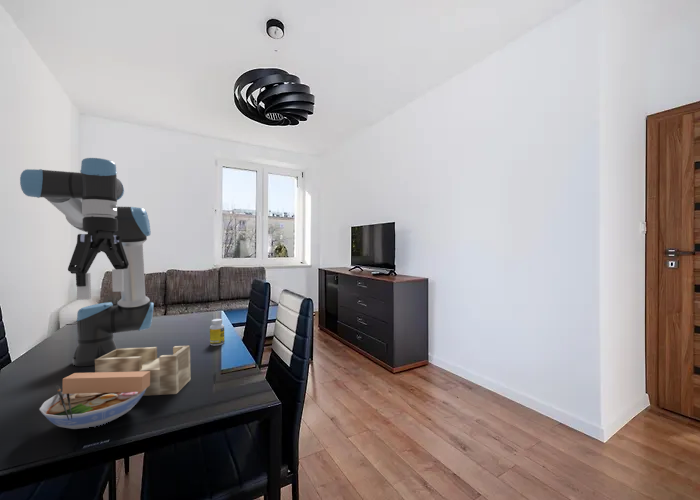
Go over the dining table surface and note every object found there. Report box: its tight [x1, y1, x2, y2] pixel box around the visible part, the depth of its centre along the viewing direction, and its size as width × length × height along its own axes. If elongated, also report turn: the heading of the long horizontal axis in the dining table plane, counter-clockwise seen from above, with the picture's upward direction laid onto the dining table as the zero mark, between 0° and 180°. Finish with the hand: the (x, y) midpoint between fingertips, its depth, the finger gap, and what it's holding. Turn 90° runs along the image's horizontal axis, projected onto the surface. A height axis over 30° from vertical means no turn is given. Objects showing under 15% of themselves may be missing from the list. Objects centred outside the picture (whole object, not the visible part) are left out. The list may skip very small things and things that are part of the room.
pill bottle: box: [209, 318, 226, 346], centre depth 154 cm, size 6×6×12 cm
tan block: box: [61, 371, 150, 394], centre depth 87 cm, size 20×4×4 cm, turn 95°
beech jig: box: [94, 345, 192, 397], centre depth 105 cm, size 24×11×12 cm, turn 95°
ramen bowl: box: [38, 384, 147, 430], centre depth 86 cm, size 25×23×8 cm
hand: (102, 295), depth 87 cm, fingers open, 13 cm apart
